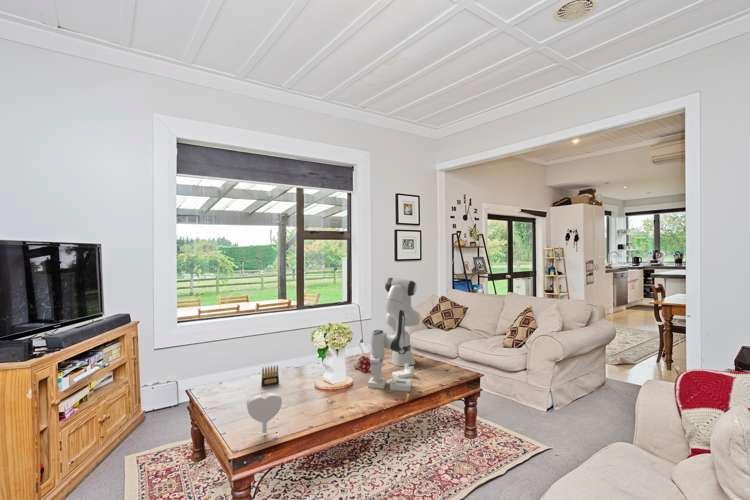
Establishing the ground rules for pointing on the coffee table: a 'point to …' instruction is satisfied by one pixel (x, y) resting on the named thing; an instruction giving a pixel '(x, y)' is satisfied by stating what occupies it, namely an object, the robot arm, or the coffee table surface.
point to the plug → (379, 377)
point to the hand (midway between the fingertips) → (377, 378)
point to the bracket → (404, 372)
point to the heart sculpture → (264, 408)
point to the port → (401, 384)
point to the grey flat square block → (376, 383)
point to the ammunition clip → (270, 376)
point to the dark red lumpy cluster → (363, 364)
